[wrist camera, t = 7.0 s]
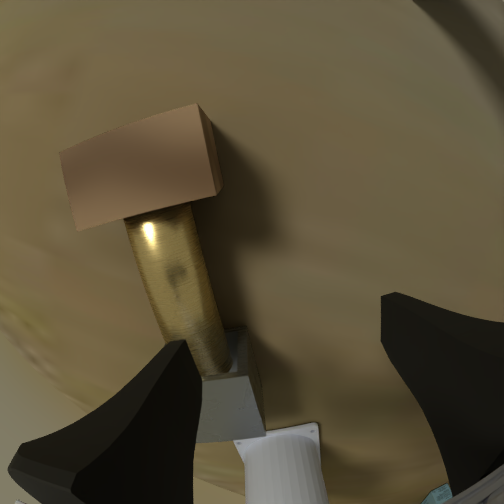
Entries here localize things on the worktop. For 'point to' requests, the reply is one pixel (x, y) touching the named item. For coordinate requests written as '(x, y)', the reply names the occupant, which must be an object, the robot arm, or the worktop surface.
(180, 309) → the tube
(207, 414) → the sleeve
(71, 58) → the worktop surface
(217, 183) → the brown rectangular block
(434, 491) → the gum box
